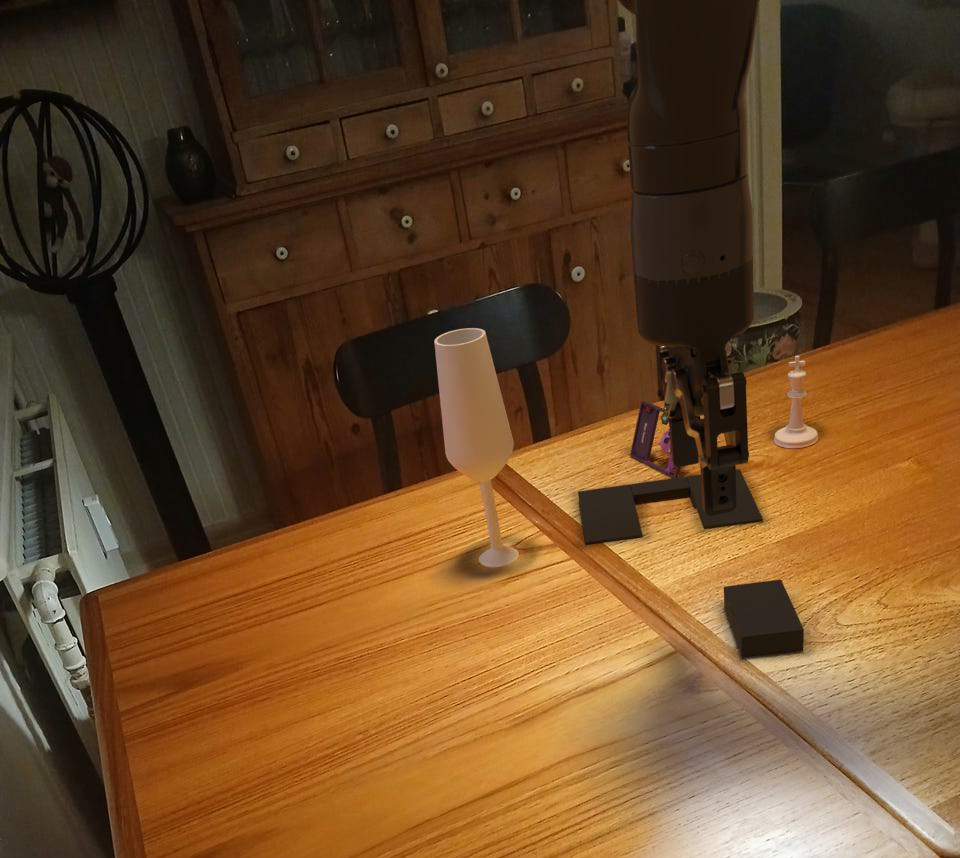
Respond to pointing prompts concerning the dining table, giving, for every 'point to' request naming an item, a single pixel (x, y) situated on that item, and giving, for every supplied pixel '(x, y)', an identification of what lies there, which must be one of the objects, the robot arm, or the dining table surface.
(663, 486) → the notched mat
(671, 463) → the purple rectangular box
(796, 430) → the chess piece
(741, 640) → the small pad
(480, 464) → the champagne flute
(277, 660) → the dining table surface
